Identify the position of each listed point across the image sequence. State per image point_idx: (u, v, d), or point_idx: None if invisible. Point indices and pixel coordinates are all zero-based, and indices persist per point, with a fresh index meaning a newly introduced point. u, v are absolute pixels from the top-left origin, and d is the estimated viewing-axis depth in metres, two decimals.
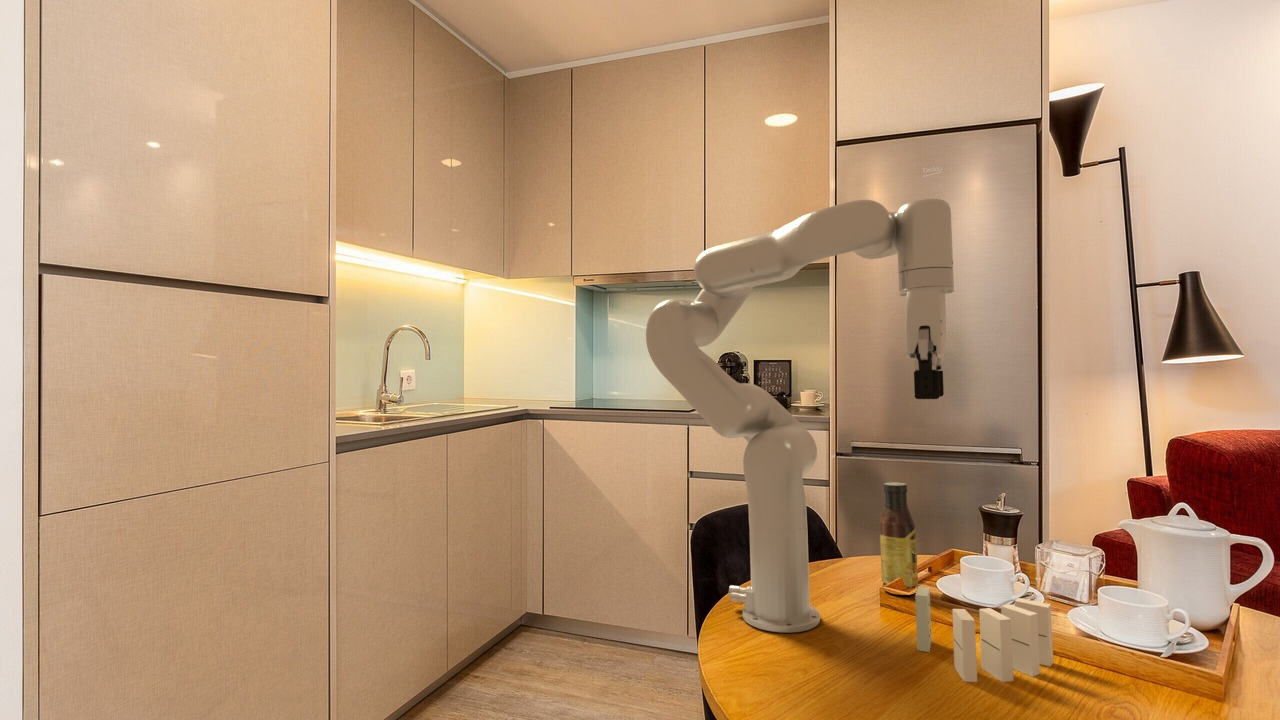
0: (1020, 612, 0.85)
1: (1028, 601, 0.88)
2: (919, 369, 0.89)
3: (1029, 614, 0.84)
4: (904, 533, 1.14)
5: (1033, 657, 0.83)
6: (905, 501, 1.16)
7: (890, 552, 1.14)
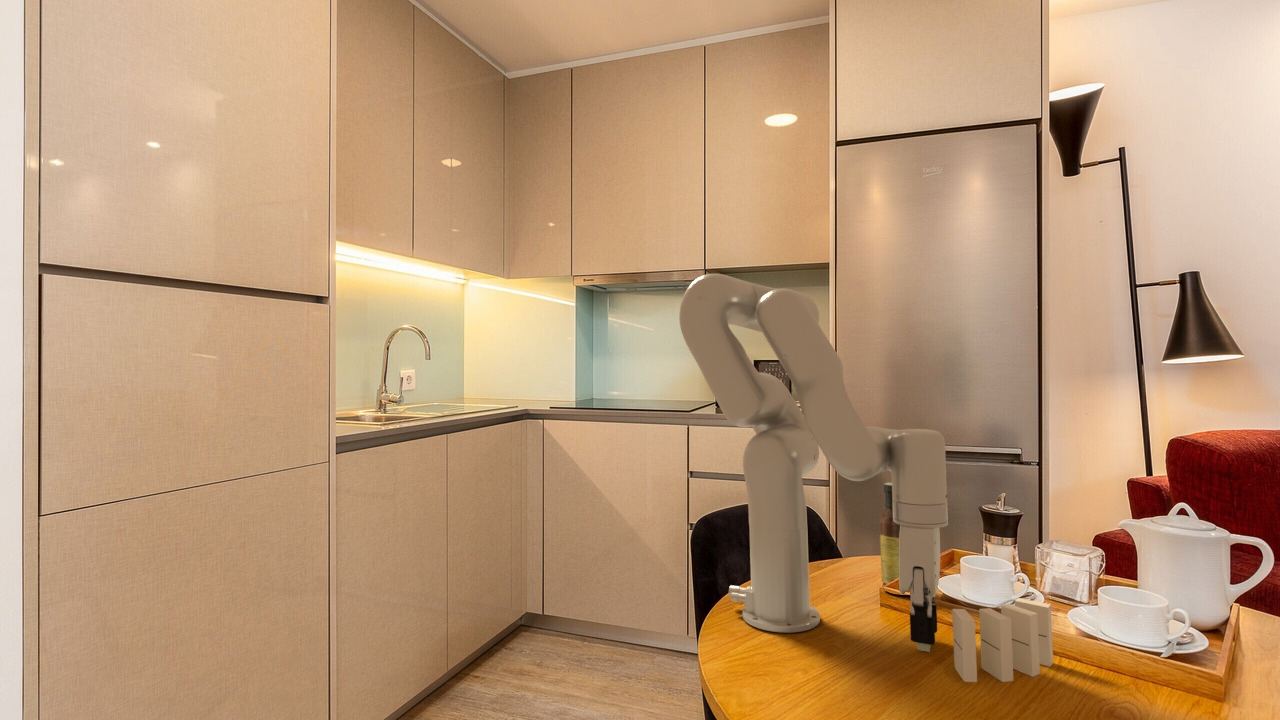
0: (1020, 612, 0.85)
1: (1028, 601, 0.88)
2: (915, 615, 0.91)
3: (1029, 614, 0.84)
4: None
5: (1033, 657, 0.83)
6: None
7: (890, 552, 1.14)
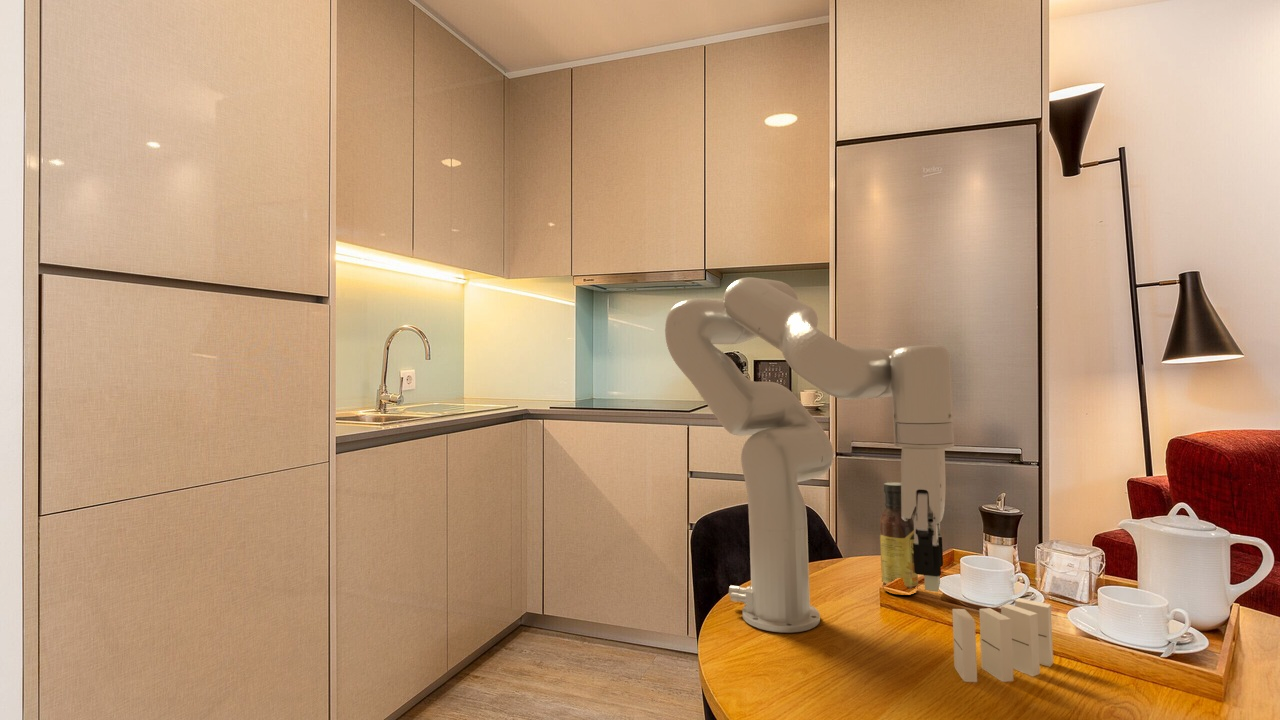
0: (1020, 612, 0.85)
1: (1028, 601, 0.88)
2: (919, 544, 0.83)
3: (1029, 614, 0.84)
4: (904, 533, 1.14)
5: (1033, 657, 0.83)
6: None
7: (890, 552, 1.14)
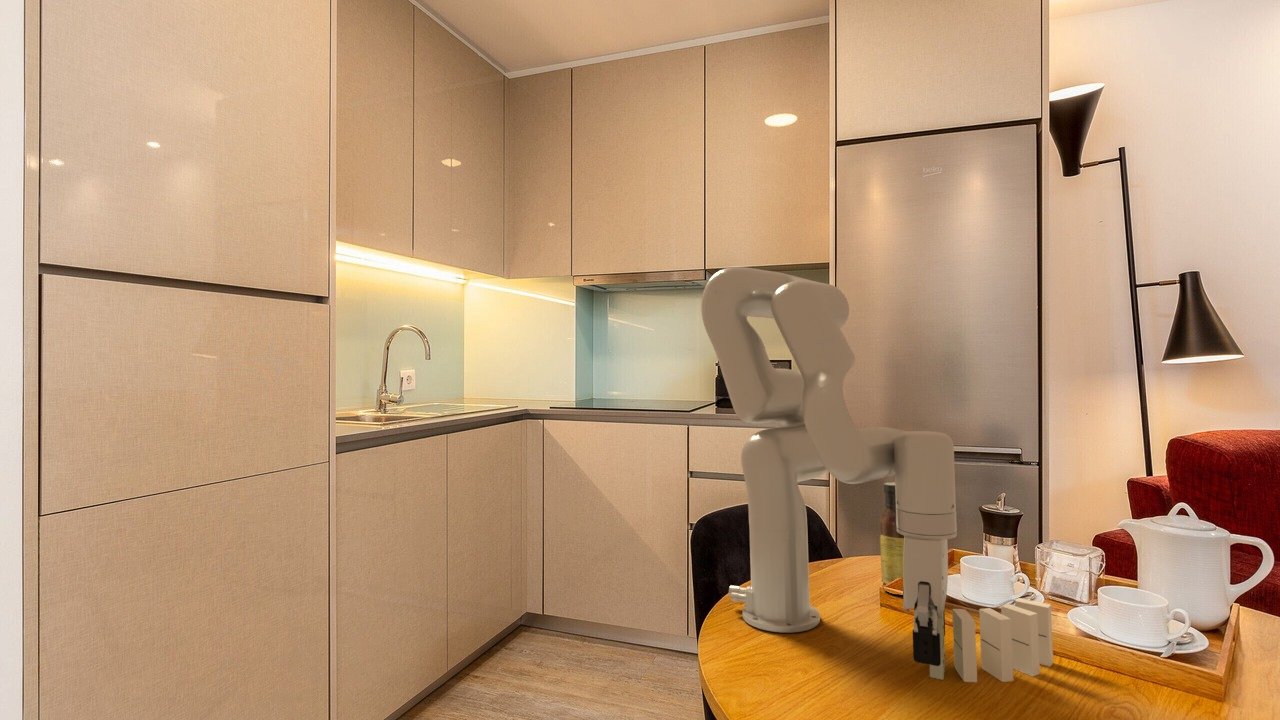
0: (1020, 612, 0.85)
1: (1028, 601, 0.88)
2: (918, 632, 0.81)
3: (1029, 614, 0.84)
4: None
5: (1033, 657, 0.83)
6: None
7: (890, 552, 1.14)
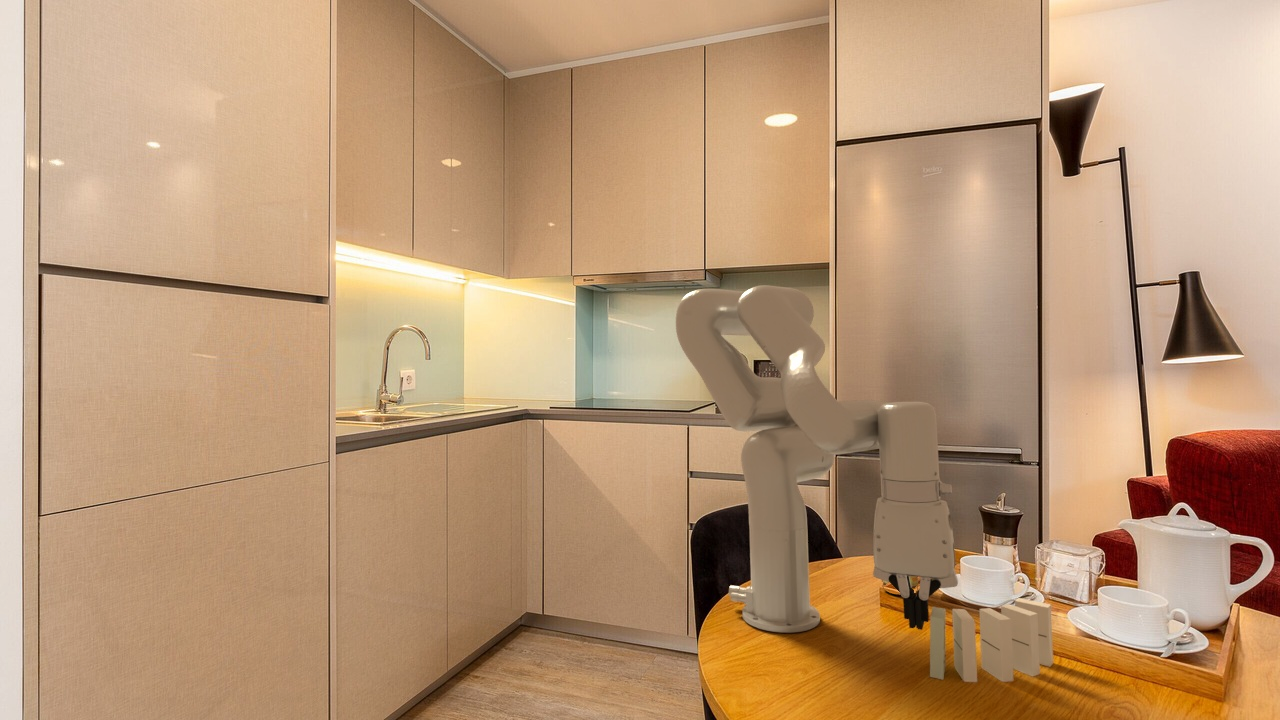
0: (1020, 612, 0.85)
1: (1028, 601, 0.88)
2: None
3: (1029, 614, 0.84)
4: None
5: (1033, 657, 0.83)
6: None
7: None
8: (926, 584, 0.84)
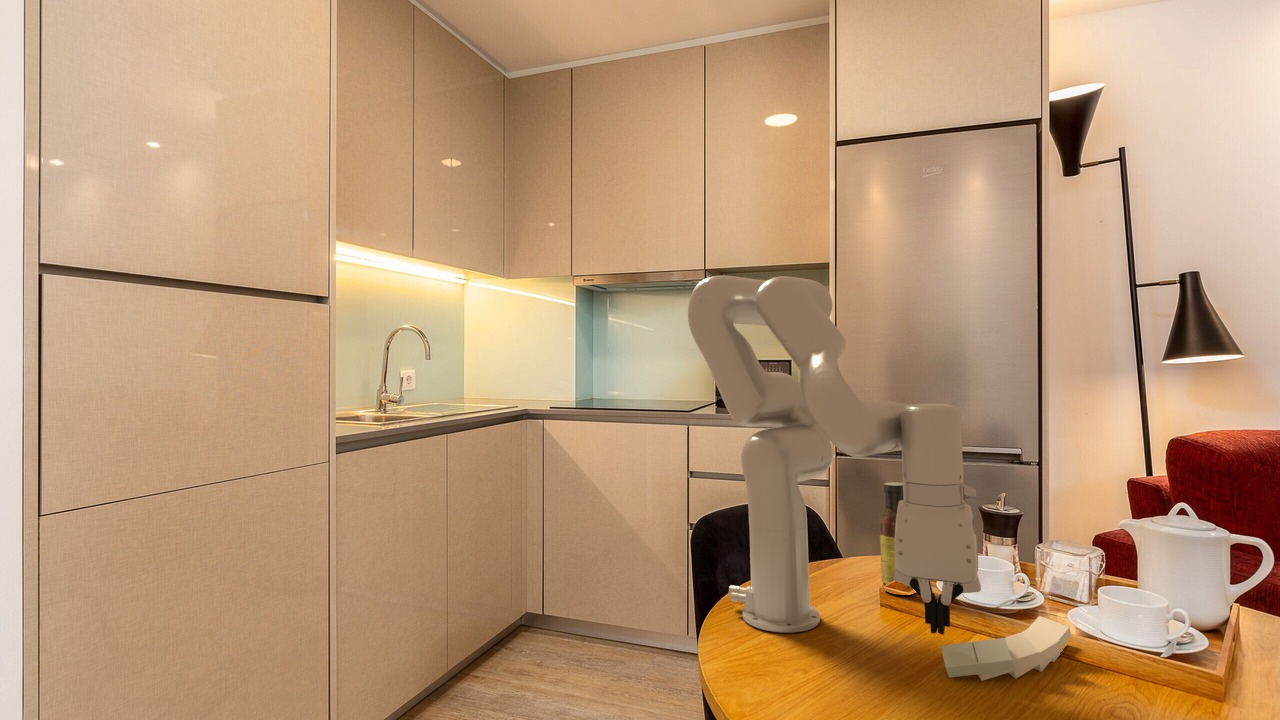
0: (1059, 624, 0.89)
1: None
2: None
3: (1067, 628, 0.88)
4: None
5: None
6: None
7: (890, 552, 1.14)
8: (948, 589, 0.83)
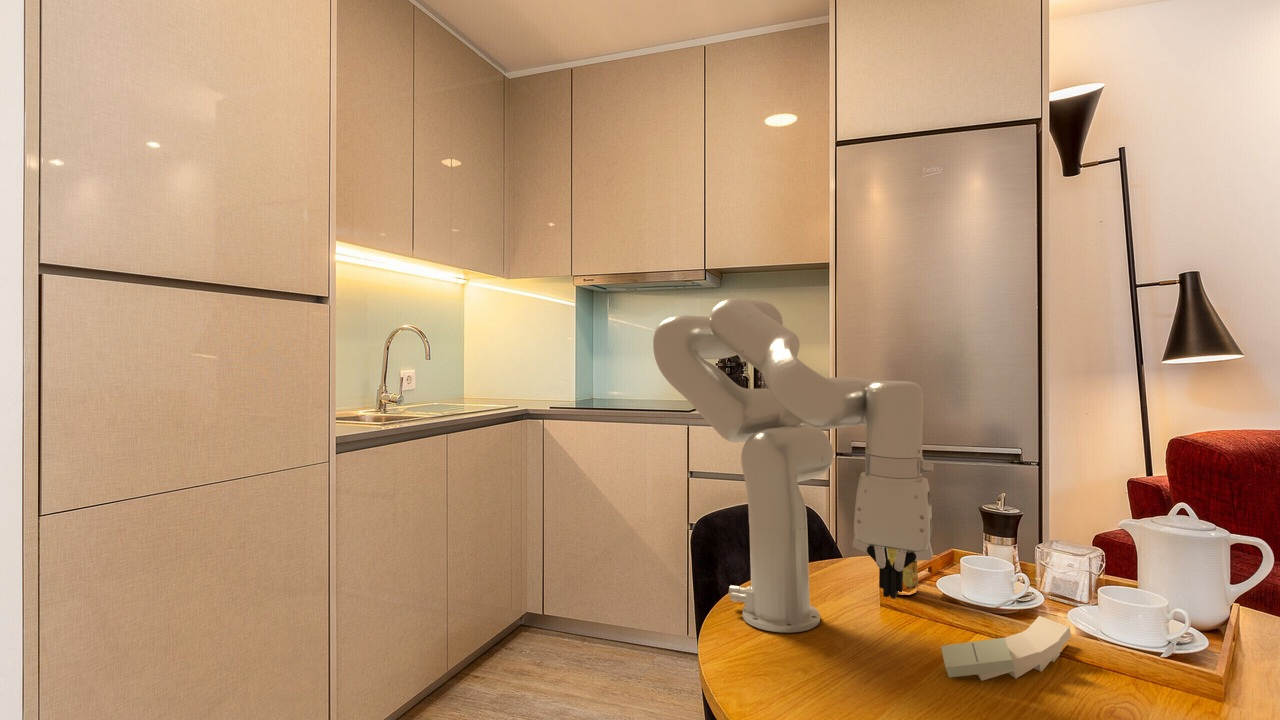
0: (1058, 624, 0.89)
1: None
2: None
3: (1067, 628, 0.88)
4: None
5: None
6: None
7: (890, 552, 1.14)
8: (902, 556, 0.88)
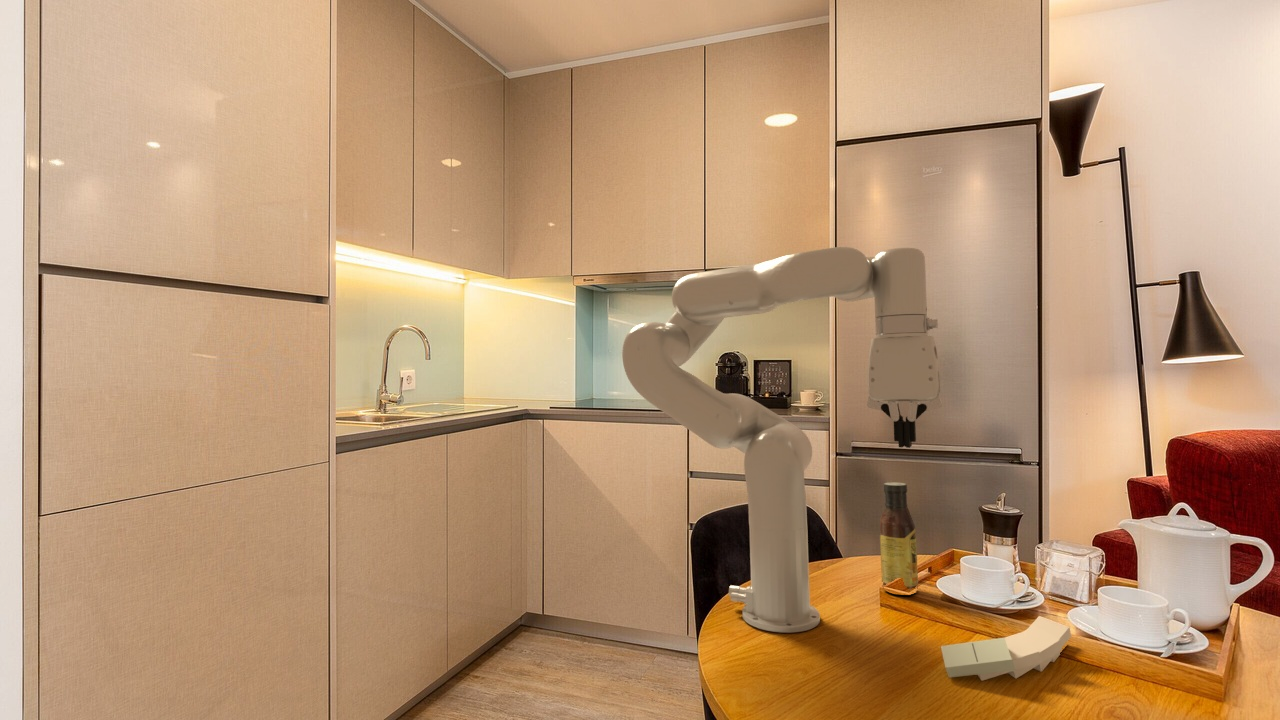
0: (1058, 624, 0.89)
1: None
2: None
3: (1067, 628, 0.88)
4: (904, 533, 1.14)
5: None
6: (905, 501, 1.16)
7: (890, 552, 1.14)
8: (914, 407, 0.96)
